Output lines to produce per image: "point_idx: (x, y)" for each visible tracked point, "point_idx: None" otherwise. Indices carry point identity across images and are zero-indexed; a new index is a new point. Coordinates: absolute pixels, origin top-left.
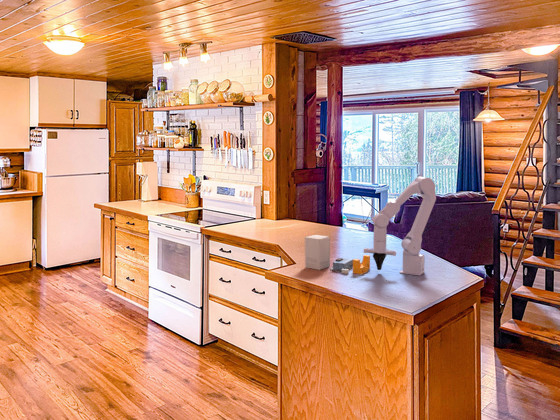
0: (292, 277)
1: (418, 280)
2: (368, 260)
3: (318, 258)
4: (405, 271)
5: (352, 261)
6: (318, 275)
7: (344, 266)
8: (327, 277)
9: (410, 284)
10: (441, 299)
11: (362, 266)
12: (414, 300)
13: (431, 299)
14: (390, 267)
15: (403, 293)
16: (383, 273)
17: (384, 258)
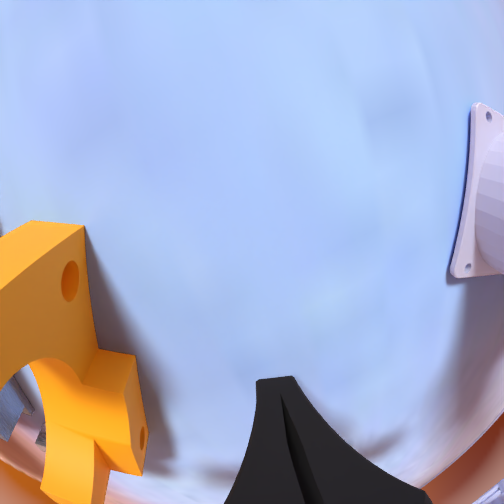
0: (13, 466)
1: (497, 351)
2: (27, 332)
3: None
4: (492, 268)
5: None
6: (26, 454)
7: (13, 425)
8: None
9: (449, 418)
10: (474, 442)
11: (115, 450)
12: (416, 481)
13: (455, 456)
14: (319, 33)
15: (401, 478)
16: (310, 349)
17: (377, 481)
